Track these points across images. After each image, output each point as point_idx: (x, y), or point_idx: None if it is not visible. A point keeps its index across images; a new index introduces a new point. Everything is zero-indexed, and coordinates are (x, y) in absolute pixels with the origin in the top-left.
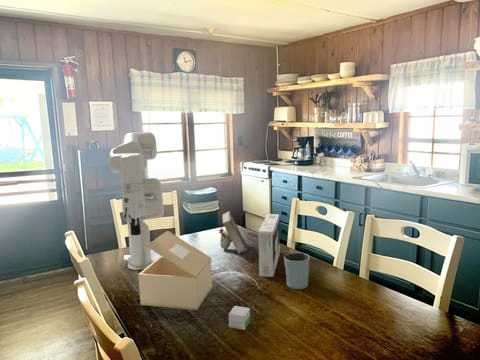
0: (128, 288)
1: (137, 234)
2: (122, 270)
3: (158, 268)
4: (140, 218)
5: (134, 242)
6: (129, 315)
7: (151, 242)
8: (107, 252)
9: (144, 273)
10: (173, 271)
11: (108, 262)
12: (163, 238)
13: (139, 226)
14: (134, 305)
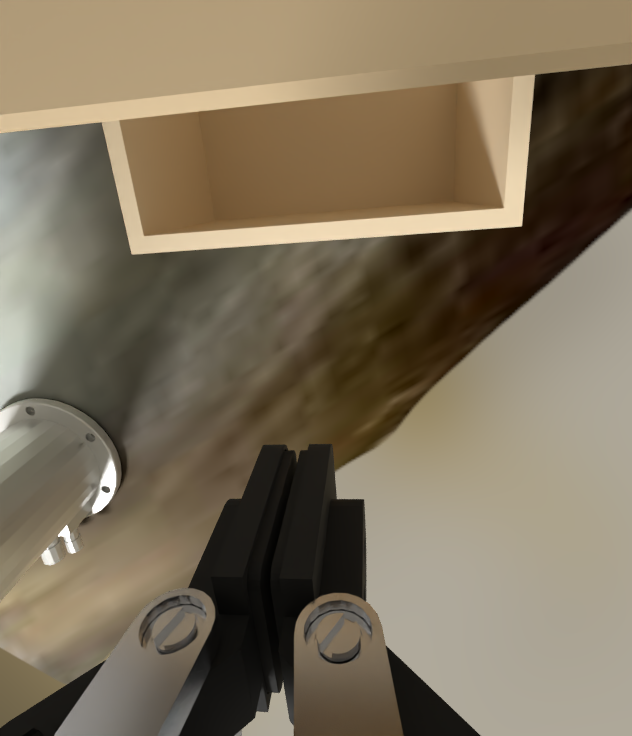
0: (304, 379)
1: (333, 462)
2: (144, 506)
3: (223, 225)
4: (64, 722)
5: (2, 564)
6: (577, 208)
7: (551, 39)
8: (18, 651)
9: (448, 211)
10: (169, 129)
11: (100, 599)
12: (165, 17)
13: (253, 538)
14: (470, 244)
